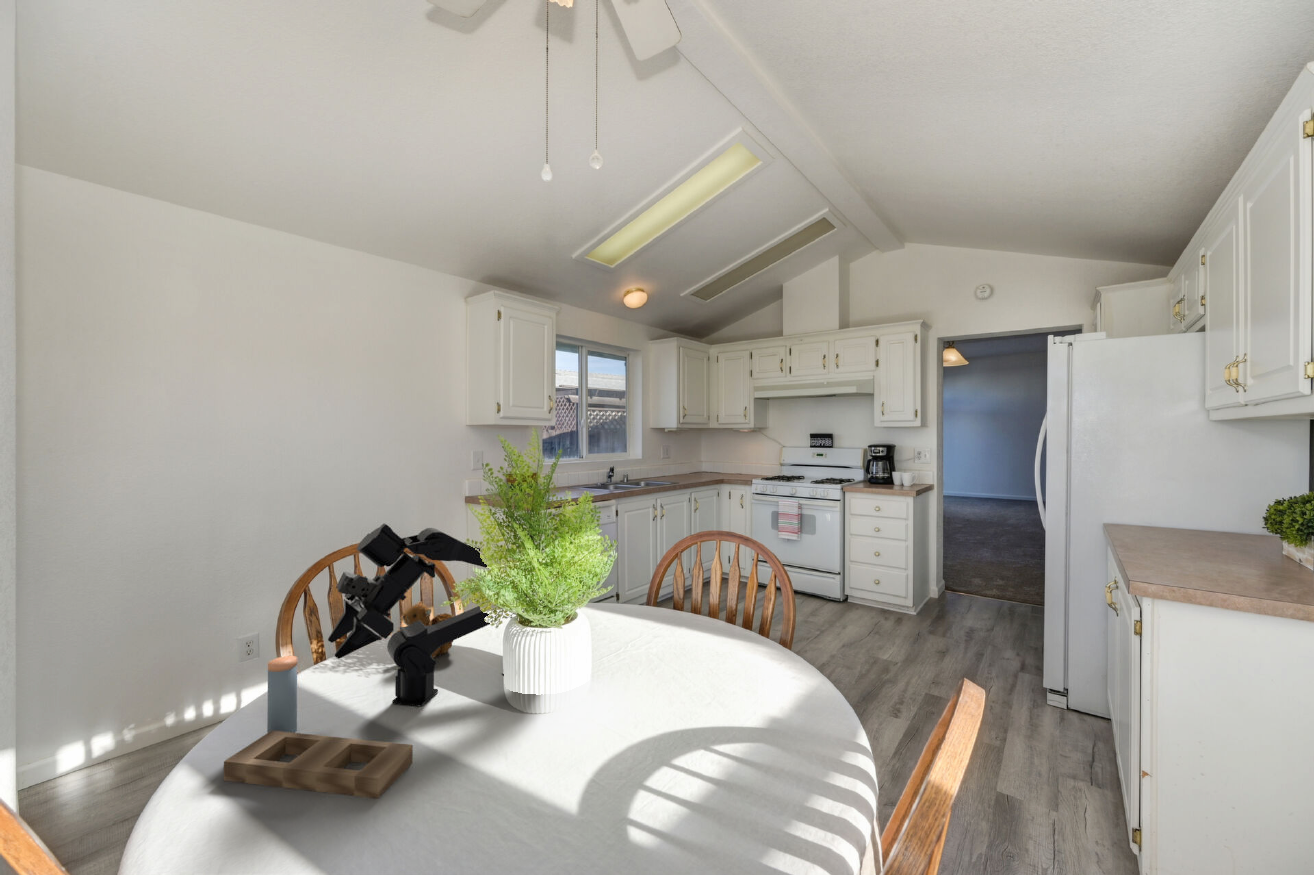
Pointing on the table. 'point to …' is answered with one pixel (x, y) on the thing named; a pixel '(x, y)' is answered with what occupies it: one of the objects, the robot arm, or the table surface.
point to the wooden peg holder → (320, 763)
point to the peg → (282, 694)
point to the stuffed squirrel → (426, 621)
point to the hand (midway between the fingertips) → (332, 649)
